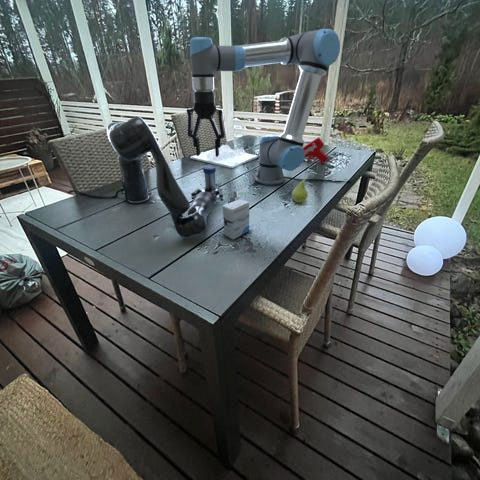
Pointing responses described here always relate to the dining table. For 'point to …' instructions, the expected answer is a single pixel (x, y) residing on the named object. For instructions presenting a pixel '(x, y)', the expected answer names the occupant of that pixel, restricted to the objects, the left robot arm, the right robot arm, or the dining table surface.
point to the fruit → (300, 192)
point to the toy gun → (315, 150)
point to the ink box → (236, 218)
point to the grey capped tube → (210, 183)
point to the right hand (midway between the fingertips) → (207, 155)
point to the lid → (209, 169)
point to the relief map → (225, 157)
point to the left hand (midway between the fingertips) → (212, 188)
